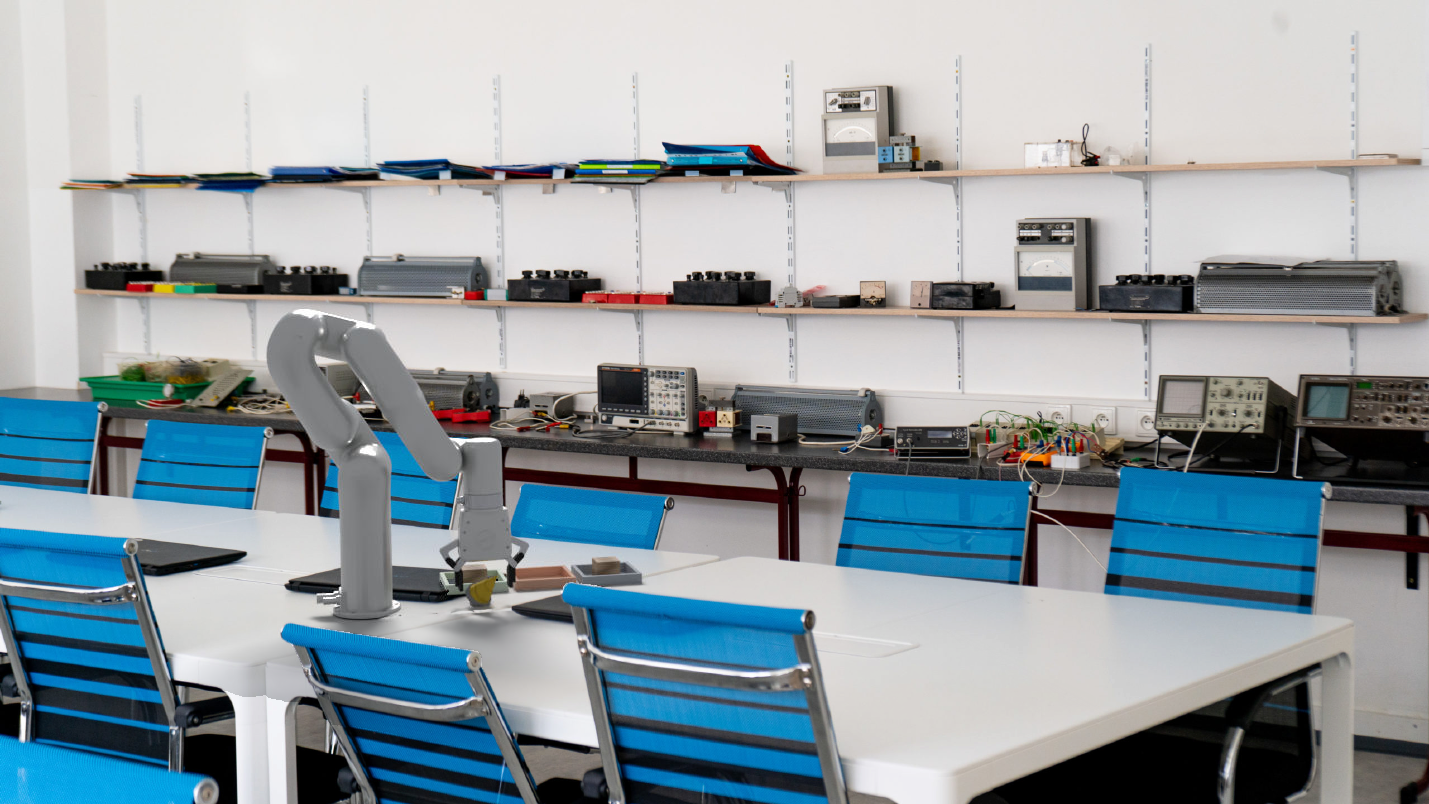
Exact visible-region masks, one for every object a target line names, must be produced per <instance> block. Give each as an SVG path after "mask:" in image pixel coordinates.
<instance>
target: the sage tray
mask: <svg viewBox="0 0 1429 804" xmlns="http://www.w3.org/2000/svg"><path fill="white" fill-rule="evenodd" d="M496 575H498V576H497V579H498V581H495V585H494V588H493V591H492V593H499V592H501V593H502V592H509V590H510V587H509V586H508V585H507V578H506V576H505V574H504V572H503V571H502V570H501V569H500V568H498V569H497V568H496V569H495V568H494V569H487V576H496ZM453 578H455V574H454V571H444V572H443V571H442V572H439V581H440V580H441V582H442V584H443V585H444V587H445V589H446V590H447V589H448V590H449V592H448V593H447V595H446V596H451V595H452V596H453V595H454V596H455V595H466V588H467V587H468V586H469V585H470V584H472V583H464V584H463V591H462V592H460V591H459V589H458V587H455V584H449V582H448V580H447V579H453Z"/></svg>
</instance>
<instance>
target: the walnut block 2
mask: <svg viewBox="0 0 1429 804" xmlns="http://www.w3.org/2000/svg"><path fill="white" fill-rule="evenodd" d="M620 562H621V561H620V559H619V558H617V557H616V556H602V557H601V556H600V557H592V558H591V564H592V576H595V575H612V574H620Z"/></svg>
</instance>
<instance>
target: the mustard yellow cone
mask: <svg viewBox="0 0 1429 804" xmlns="http://www.w3.org/2000/svg"><path fill="white" fill-rule="evenodd" d="M497 576H498V575H496V576H494V577H491V578H489V579H486V580H484V581H481V582H479V583H472V584H470V585H469V586H468V587H467V588H466V594H465V597H466V599H467V600H468V602H469V605H470V606H472V607H473V606H474V607H485V606H489V605H490V604H491V602H492V594H493V592H492V591H493V588H494V585H495V581H496V579H497Z"/></svg>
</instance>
